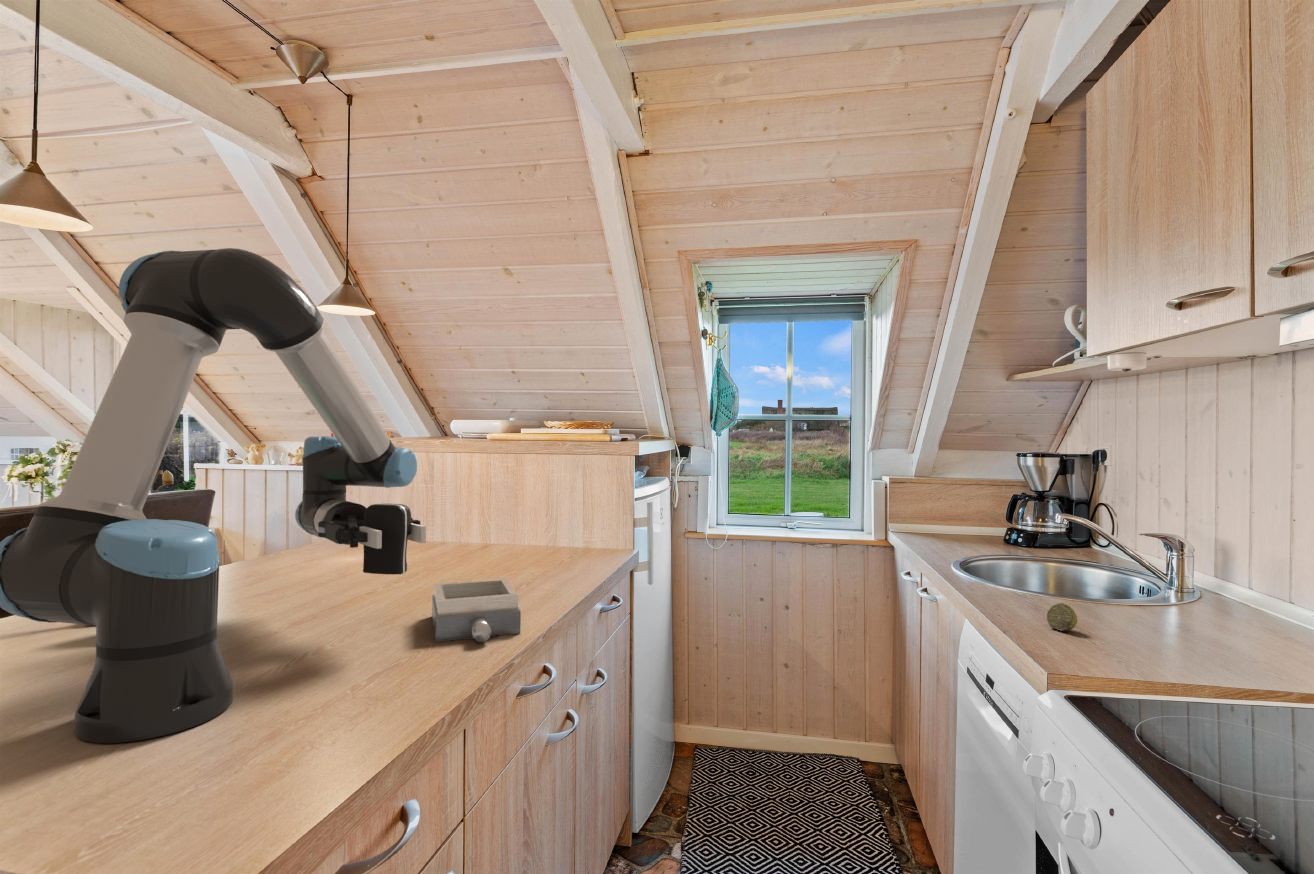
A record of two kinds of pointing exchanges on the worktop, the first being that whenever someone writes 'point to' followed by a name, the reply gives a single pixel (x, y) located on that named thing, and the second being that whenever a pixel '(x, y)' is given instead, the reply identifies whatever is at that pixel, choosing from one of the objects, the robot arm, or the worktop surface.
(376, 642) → the worktop surface
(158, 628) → the robot arm
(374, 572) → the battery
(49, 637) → the worktop surface
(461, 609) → the grey drawer box
